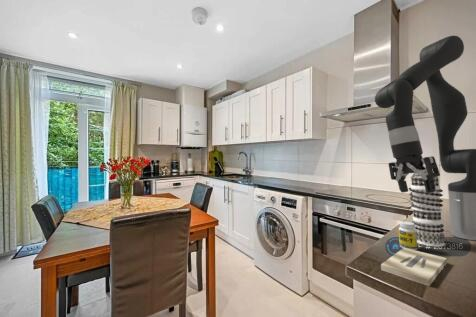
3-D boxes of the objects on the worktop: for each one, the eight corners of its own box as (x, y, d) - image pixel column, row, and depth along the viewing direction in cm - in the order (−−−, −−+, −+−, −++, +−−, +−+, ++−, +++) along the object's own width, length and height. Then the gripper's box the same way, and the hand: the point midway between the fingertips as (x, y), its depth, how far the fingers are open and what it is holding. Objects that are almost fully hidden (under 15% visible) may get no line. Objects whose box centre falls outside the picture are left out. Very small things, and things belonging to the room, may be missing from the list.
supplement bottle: (397, 247, 72) (396, 222, 72) (402, 244, 75) (400, 220, 75) (415, 251, 68) (413, 225, 69) (419, 247, 71) (417, 222, 71)
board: (404, 252, 68) (403, 247, 68) (446, 263, 60) (446, 257, 60) (381, 270, 57) (380, 264, 58) (429, 286, 49) (429, 279, 49)
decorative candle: (440, 249, 69) (435, 173, 70) (407, 240, 78) (403, 173, 78) (451, 243, 74) (446, 172, 75) (418, 236, 82) (414, 172, 83)
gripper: (437, 135, 62) (452, 190, 60) (395, 145, 76) (406, 190, 74) (415, 138, 61) (429, 194, 59) (377, 147, 75) (387, 193, 73)
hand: (416, 192), depth 66 cm, fingers open, 8 cm apart
